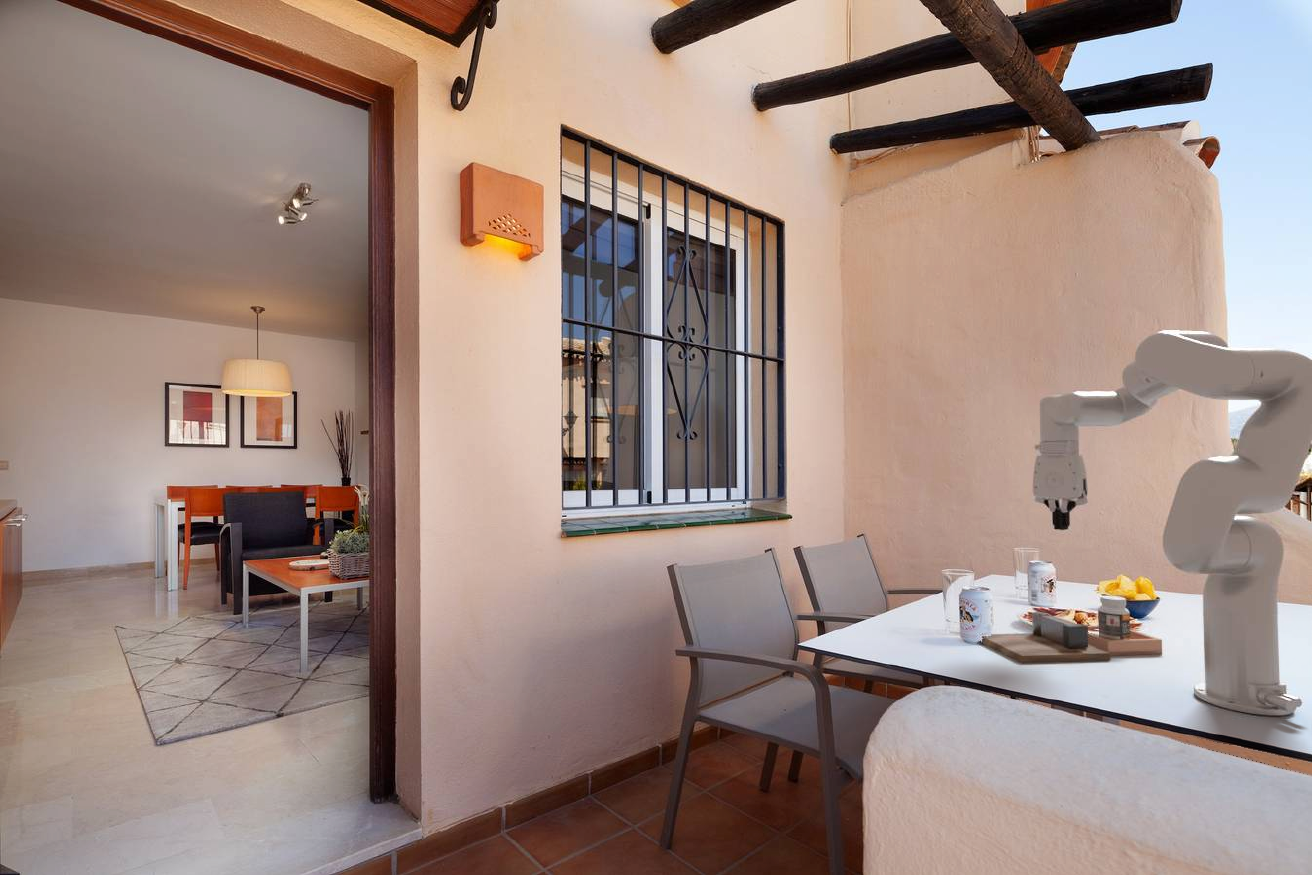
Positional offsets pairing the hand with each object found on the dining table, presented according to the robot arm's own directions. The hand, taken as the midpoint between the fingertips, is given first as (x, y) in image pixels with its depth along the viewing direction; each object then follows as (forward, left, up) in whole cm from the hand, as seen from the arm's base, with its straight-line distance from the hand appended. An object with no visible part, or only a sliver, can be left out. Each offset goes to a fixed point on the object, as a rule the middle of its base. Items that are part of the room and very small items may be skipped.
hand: (1061, 529), depth 149 cm
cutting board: (-7, +10, -25) cm, 28 cm away
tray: (-6, -7, -25) cm, 27 cm away
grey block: (-5, +6, -24) cm, 25 cm away
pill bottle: (-6, -7, -25) cm, 26 cm away
